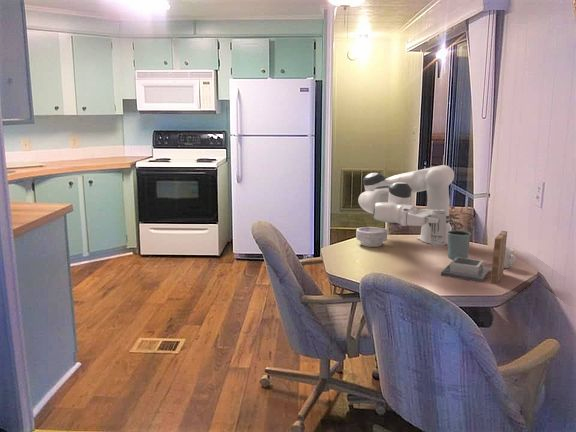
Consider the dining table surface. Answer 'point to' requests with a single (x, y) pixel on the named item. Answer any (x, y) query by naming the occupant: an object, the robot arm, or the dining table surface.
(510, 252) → the cup
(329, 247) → the dining table surface
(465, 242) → the green tapered pot
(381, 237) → the paper bowls
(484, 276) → the grey fixture base
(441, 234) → the energy drink can
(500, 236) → the door panel
